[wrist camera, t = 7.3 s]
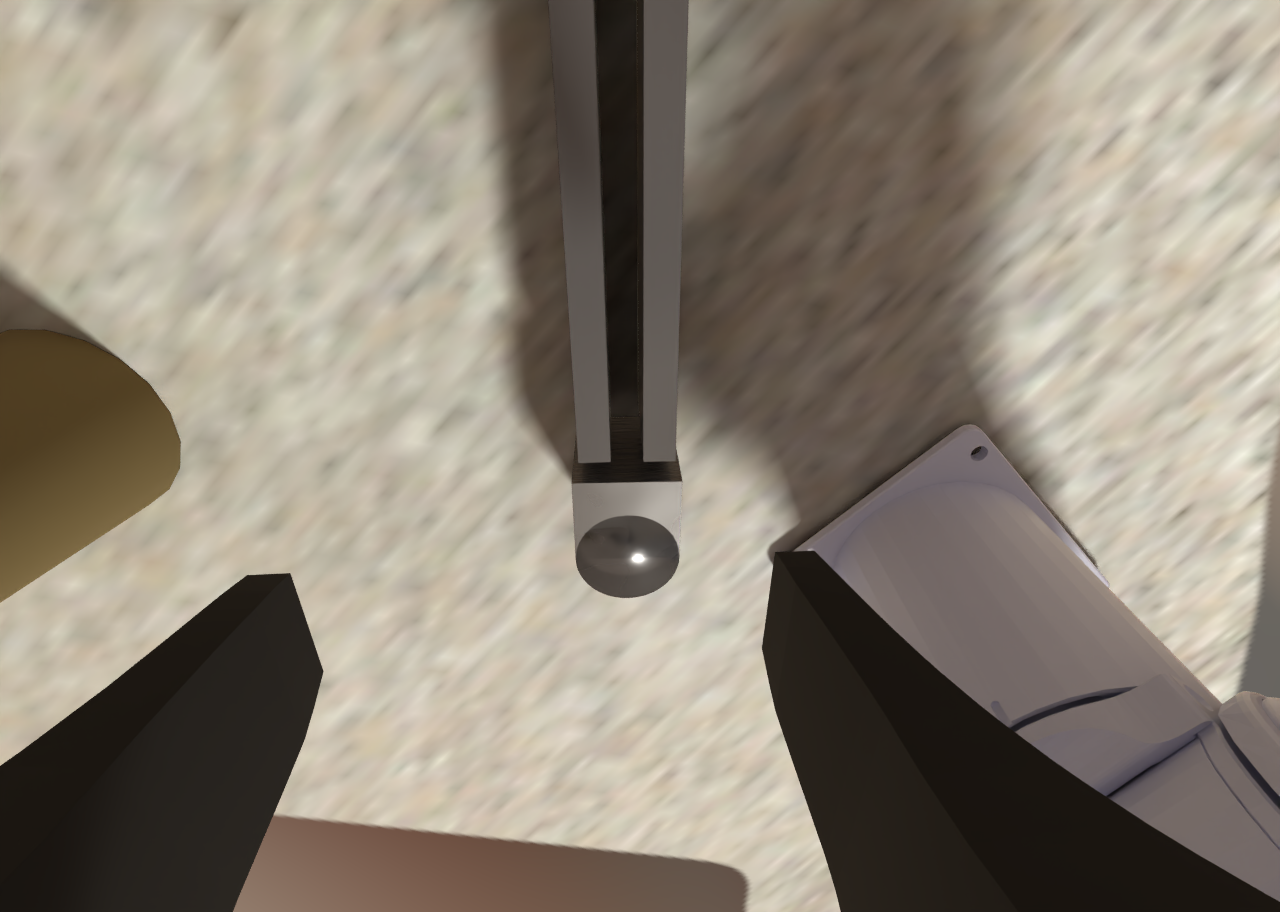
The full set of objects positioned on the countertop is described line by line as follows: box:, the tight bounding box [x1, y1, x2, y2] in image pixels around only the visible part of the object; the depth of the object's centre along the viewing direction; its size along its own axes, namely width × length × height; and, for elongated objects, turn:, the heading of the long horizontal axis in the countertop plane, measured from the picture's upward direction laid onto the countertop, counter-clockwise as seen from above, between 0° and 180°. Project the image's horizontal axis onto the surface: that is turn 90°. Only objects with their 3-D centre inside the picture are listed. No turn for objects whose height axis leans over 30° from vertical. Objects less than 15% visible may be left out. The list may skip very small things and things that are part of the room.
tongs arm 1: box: [637, 0, 688, 462], centre depth 14 cm, size 17×1×4 cm, turn 0°
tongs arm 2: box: [548, 0, 611, 463], centre depth 14 cm, size 17×1×4 cm, turn 1°
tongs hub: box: [572, 416, 682, 598], centre depth 20 cm, size 4×3×4 cm
